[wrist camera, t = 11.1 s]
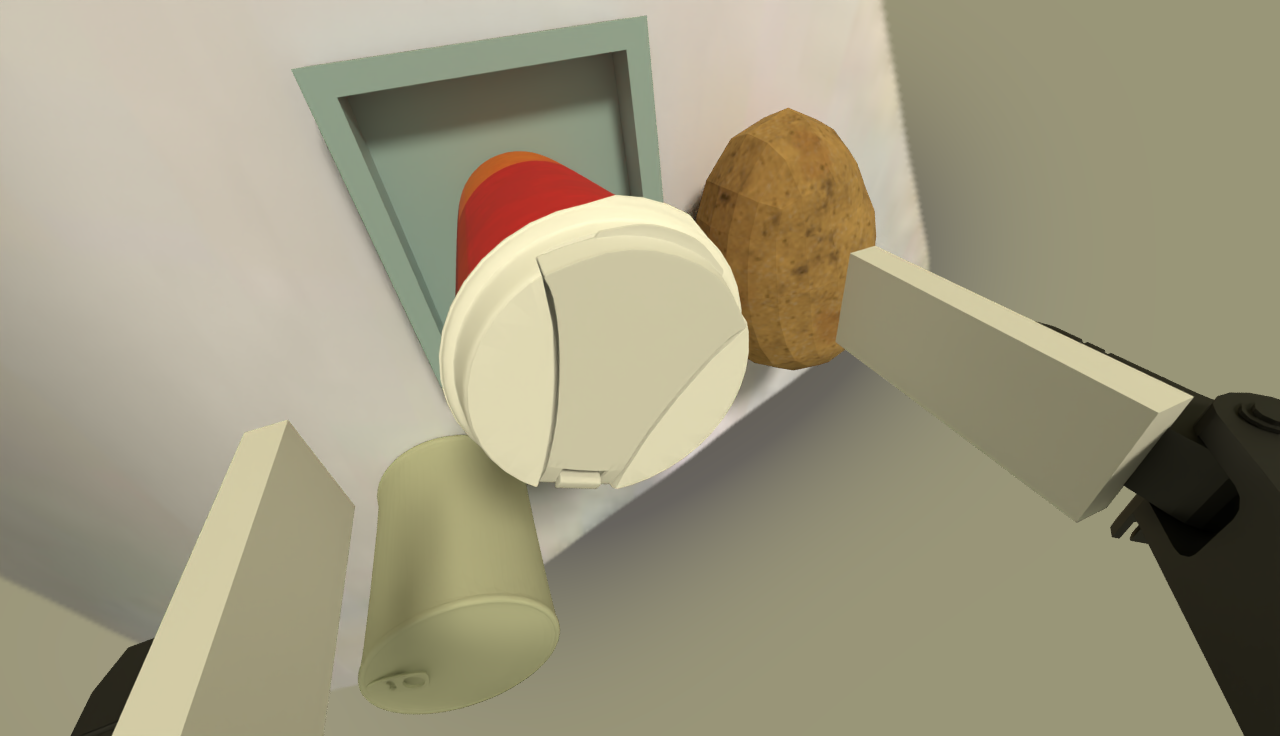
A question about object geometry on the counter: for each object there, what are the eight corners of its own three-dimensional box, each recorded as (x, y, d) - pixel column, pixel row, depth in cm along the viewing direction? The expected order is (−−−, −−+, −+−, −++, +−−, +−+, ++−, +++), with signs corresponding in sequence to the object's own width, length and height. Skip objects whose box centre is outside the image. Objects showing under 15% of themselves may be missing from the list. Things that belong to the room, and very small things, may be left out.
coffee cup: (575, 308, 27) (689, 509, 15) (416, 273, 23) (408, 508, 11) (628, 157, 24) (826, 270, 12) (453, 85, 20) (496, 149, 8)
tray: (307, 66, 18) (291, 69, 16) (624, 18, 21) (646, 15, 19) (440, 359, 27) (441, 387, 25) (655, 298, 29) (673, 318, 27)
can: (364, 446, 28) (332, 647, 19) (524, 424, 31) (566, 587, 22) (390, 548, 33) (375, 748, 23) (527, 520, 36) (561, 687, 27)
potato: (803, 68, 25) (926, 76, 19) (816, 291, 34) (903, 346, 28) (637, 138, 24) (709, 170, 18) (694, 349, 33) (756, 421, 27)
